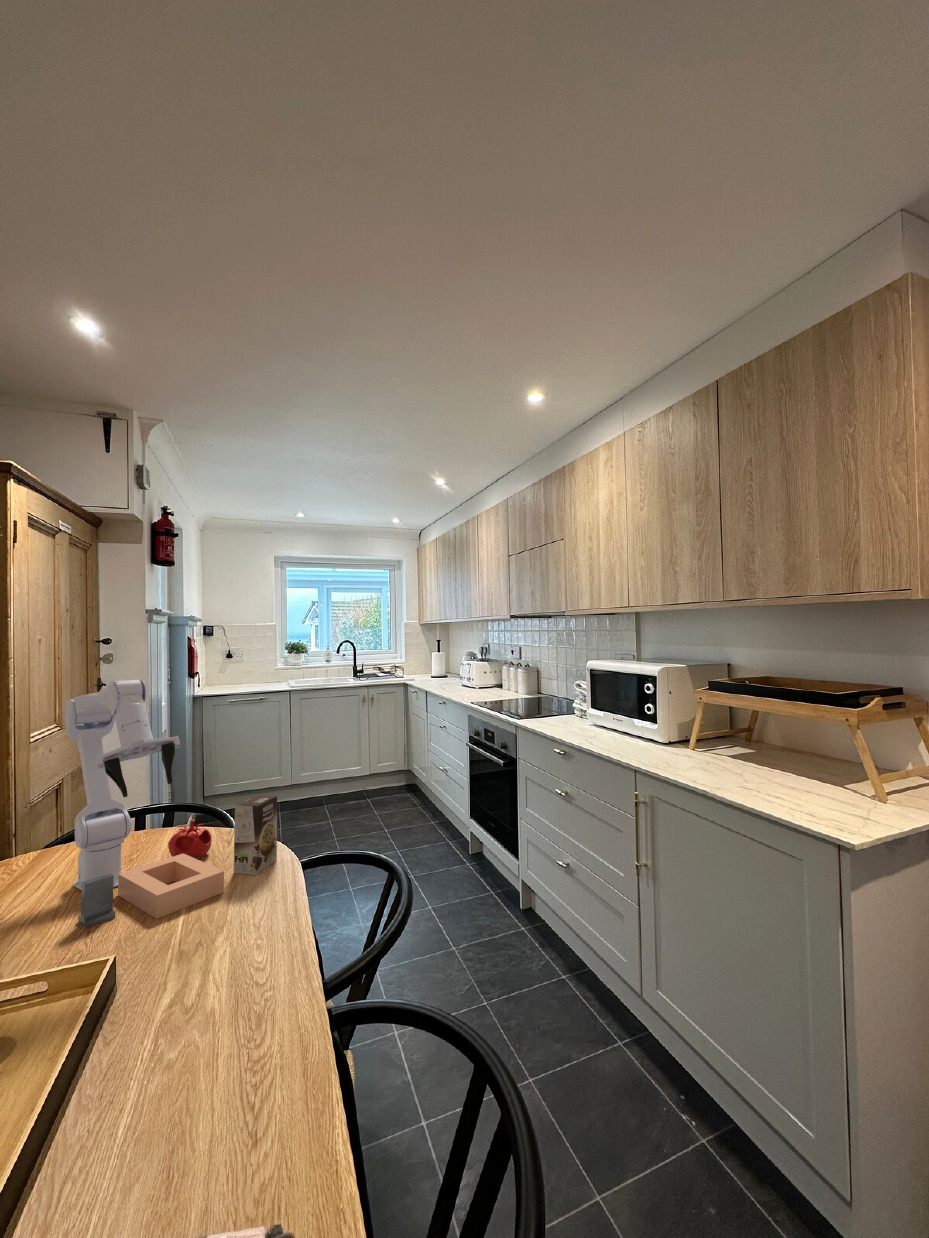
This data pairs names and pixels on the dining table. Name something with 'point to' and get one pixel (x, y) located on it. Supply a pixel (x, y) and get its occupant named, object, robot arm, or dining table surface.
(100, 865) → the robot arm
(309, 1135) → the dining table surface
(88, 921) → the brushed metal prism
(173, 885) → the holder block
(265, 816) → the coffee box
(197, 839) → the red tomato holder
